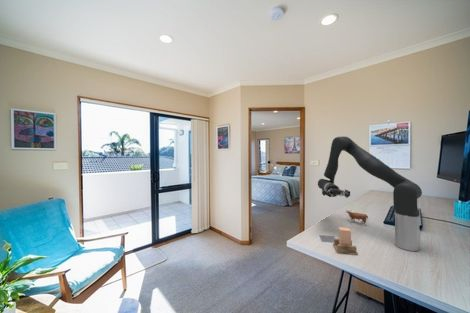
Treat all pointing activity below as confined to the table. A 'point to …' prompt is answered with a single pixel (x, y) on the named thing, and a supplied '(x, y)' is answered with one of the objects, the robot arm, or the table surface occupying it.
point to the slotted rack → (344, 248)
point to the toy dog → (357, 216)
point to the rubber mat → (327, 238)
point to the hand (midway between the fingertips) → (338, 195)
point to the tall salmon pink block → (344, 236)
